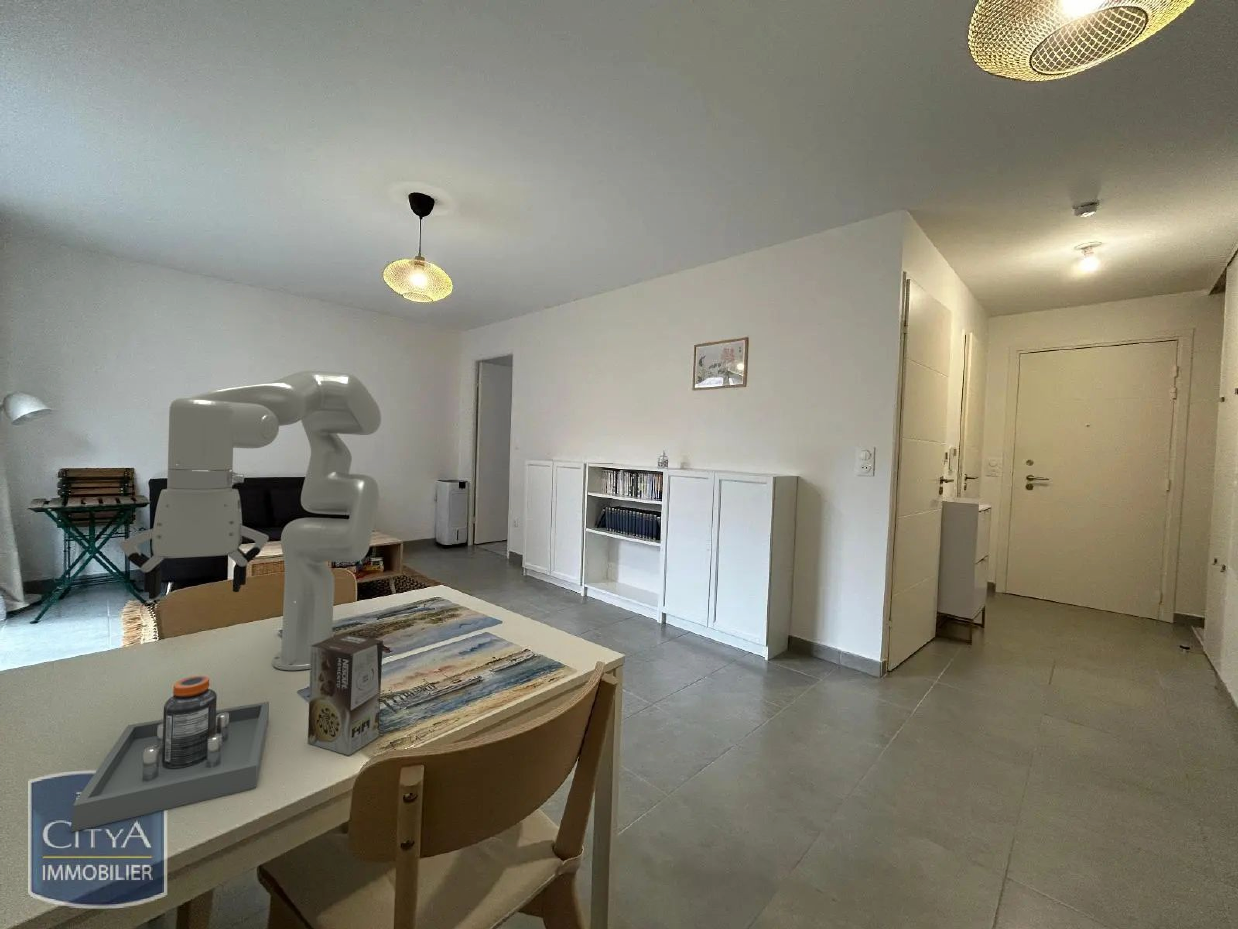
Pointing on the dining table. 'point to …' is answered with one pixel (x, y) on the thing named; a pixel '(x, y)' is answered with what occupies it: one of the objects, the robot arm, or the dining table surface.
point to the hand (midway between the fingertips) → (197, 593)
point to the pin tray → (173, 769)
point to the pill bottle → (188, 722)
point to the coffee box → (344, 692)
